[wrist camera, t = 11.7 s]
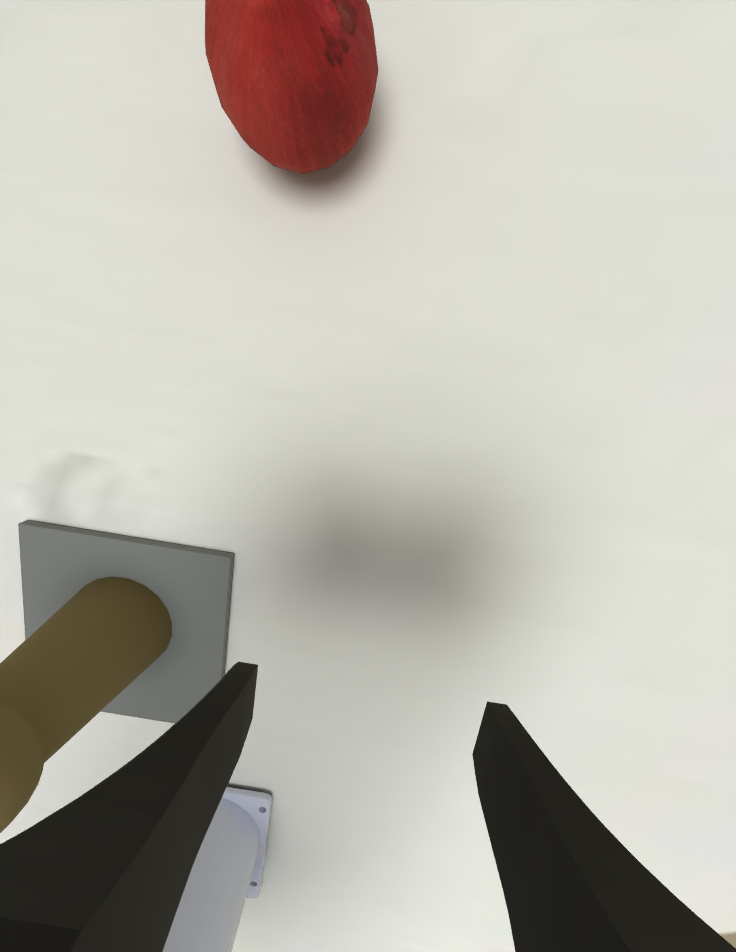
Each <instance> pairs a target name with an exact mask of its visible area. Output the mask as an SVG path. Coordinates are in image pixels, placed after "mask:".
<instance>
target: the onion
mask: <svg viewBox="0 0 736 952" xmlns="http://www.w3.org/2000/svg"><path fill="white" fill-rule="evenodd" d="M205 47H206V56H207V59H208V63H209V66H210V70H211V73H212V77H213V80H214V84H215V87H216V91H217V94H218V97H219V100H220V103H221V106H222V108H223V110H224V111H225V113H226V114H227V116H228V117H229V119H230V120H231V122H232V123H233V125H234V127H235V128H236V130H237V131H238V133H239V134H240V136H241V137H242V138H243V140H244V141H245V142H246V143H247V144H248V146H249V147H250V148H251V149H253V150H254V151H255V152H257V153H258V154H259V155H261V156H262V157H263V158H265V159H266V160H267V161H269V162H270V163H271V164H272V165H274V166H276V167H279V168H283V169H287V170H291V171H295V172H299V173H303V174H304V173H308V172H312V171H315V170H319V169H323V168H327V167H330V166H332V165H333V164H334V163H335V162H337V161H338V160H339V159H340V158H342V157H343V156H344V155H345V154H347V153H348V152H349V151H350V150H352V148H353V147H354V145H355V143H356V142H357V140H358V138H359V137H360V135H361V133H362V132H363V130H364V129H365V127H366V125H367V124H368V120H369V115H370V111H371V106H372V102H373V97H374V92H375V87H376V81H377V75H378V64H377V55H376V46H375V38H374V29H373V23H372V18H371V13H370V8H369V5H368V3H367V1H366V0H205Z"/></svg>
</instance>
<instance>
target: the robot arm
mask: <svg viewBox="0 0 736 952" xmlns="http://www.w3.org/2000/svg"><path fill="white" fill-rule="evenodd" d="M257 669H258V665H256V664H250V663H243V662H238V663H236V664H235V665H234V666H233V667H232V668H231V669H230V670H229V671H228V672H227V673H226V675H225V676H224V677H223V678H222V679H221V680H220V681H219V682H218V683H217V684H216V685H215V686H214V687H213V688H212V689H211V690H210V691H209V692H208V693H207V694H206V695H205V696H204V697H203V698H202V699H201V700H200V701H199V702H198V703H197V704H196V705H195V706H194V707H193V708H192V709H191V710H190V711H189V712H188V713H187V714H186V715H184V716H183V717H182V718H181V719H180V720H179V721H178V722H177V723H175V724H174V725H173V726H172V727H171V728H170V729H169V730H167V731H166V732H165V733H164V734H163V735H162V736H161V737H160V738H158V739H157V740H156V741H155V742H154V743H152V744H151V745H150V746H149V747H147V748H146V749H145V750H144V751H142V752H141V753H140V754H139V755H137V756H136V757H135V758H133V759H132V760H131V761H130V762H128V763H127V764H126V765H124V766H123V767H122V768H120V769H119V770H118V771H116V772H115V773H113V774H112V775H110V776H109V777H108V778H106V779H105V780H103V781H102V782H101V783H99V784H98V785H96V786H95V787H94V788H92V789H91V790H89V791H88V792H86V793H85V794H83V795H82V796H80V797H79V798H77V799H76V800H74V801H72V802H71V803H69V804H68V805H66V806H64V807H63V808H61V809H59V810H58V811H56V812H55V813H53V814H51V815H50V816H48V817H47V818H45V819H43V820H42V821H40V822H38V823H37V824H35V825H34V826H32V827H30V828H29V829H27V830H25V831H23V832H22V833H20V834H18V835H17V836H15V837H13V838H11V839H9V840H7V841H5V842H4V843H2V844H0V952H231V951H232V947H233V943H234V939H235V936H236V932H237V928H238V924H239V921H240V917H241V913H242V909H243V905H244V902H245V898H246V897H248V898H256V897H258V896H259V893H260V889H261V882H262V874H263V866H264V858H265V850H266V843H267V835H268V827H269V819H270V811H271V804H272V797H271V796H270V795H269V794H267V793H263V792H256V791H250V790H244V789H237V788H231V787H227V785H228V783H229V780H230V778H231V776H232V773H233V771H234V769H235V766H236V764H237V762H238V760H239V757H240V755H241V752H242V749H243V746H244V743H245V740H246V737H247V734H248V730H249V727H250V724H251V721H252V717H253V707H254V698H255V688H256V679H257ZM473 760H474V767H475V775H476V781H477V787H478V794H479V798H480V802H481V806H482V810H483V814H484V818H485V822H486V826H487V830H488V833H489V837H490V841H491V845H492V849H493V853H494V857H495V860H496V864H497V868H498V872H499V876H500V880H501V884H502V888H503V891H504V896H505V900H506V905H507V909H508V914H509V918H510V924H511V929H512V935H513V940H514V946H515V951H516V952H736V949H735V948H734V947H733V946H732V945H731V944H730V943H728V942H727V941H726V940H725V939H724V938H723V937H721V936H720V935H719V934H718V933H717V932H716V931H714V930H713V929H712V928H711V927H710V926H709V925H707V924H706V923H705V922H704V921H703V920H702V919H700V918H699V917H698V916H697V915H696V914H695V913H694V912H692V911H691V910H690V909H689V908H688V907H687V906H686V905H685V904H684V903H682V902H681V901H680V900H679V899H678V898H677V897H676V896H675V895H674V894H672V893H671V892H670V891H669V890H668V889H667V888H666V887H665V886H664V885H663V884H662V883H661V882H660V881H659V880H658V879H657V878H656V877H655V876H653V875H652V874H651V873H650V872H649V871H648V870H647V869H646V868H645V867H644V866H643V865H642V864H641V863H640V862H639V861H638V860H637V859H636V858H635V857H634V856H633V855H632V854H631V853H630V852H629V851H628V850H627V849H626V848H625V847H624V846H623V845H622V844H621V843H620V842H619V841H618V840H617V838H616V837H615V836H614V835H613V834H612V833H611V832H610V831H609V830H608V829H607V828H606V827H605V826H604V825H603V824H602V823H601V822H600V820H599V819H598V818H597V817H596V816H595V815H594V814H593V813H592V812H591V810H590V809H589V808H588V807H587V806H586V805H585V803H584V802H583V801H582V800H581V799H580V798H579V796H578V795H577V794H576V793H575V792H574V791H573V789H572V788H571V787H570V786H569V785H568V783H567V782H566V781H565V780H564V779H563V777H562V776H561V775H560V774H559V772H558V771H557V770H556V769H555V767H554V766H553V765H552V764H551V762H550V761H549V760H548V758H547V757H546V756H545V755H544V753H543V752H542V751H541V749H540V748H539V747H538V746H537V744H536V743H535V742H534V740H533V739H532V738H531V736H530V735H529V734H528V732H527V731H526V730H525V728H524V727H523V726H522V724H521V723H520V722H519V720H518V719H517V718H516V716H515V715H514V714H513V712H512V711H511V710H510V708H509V707H508V706H507V705H505V704H499V703H493V702H487V704H486V708H485V711H484V715H483V719H482V722H481V726H480V729H479V733H478V736H477V740H476V744H475V747H474V751H473Z"/></svg>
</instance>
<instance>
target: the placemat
mask: <svg viewBox="0 0 736 952" xmlns="http://www.w3.org/2000/svg"><path fill="white" fill-rule="evenodd" d="M18 526H19V542H20V558H21V574H22V590H23V606H24V622H25V639H27V638H29V637H30V636H31V635H32V634H33V633H34V632H35V631H36V630H37V629H38V628H39V627H41V626H42V625H43V624H44V623H45V622H46V621H47V620H48V619H49V618H50V617H51V616H52V615H54V614H55V613H56V612H57V611H58V610H59V609H60V608H61V607H62V606H63V605H64V604H65V603H67V602H68V601H69V600H70V599H71V598H72V597H73V596H74V595H75V594H76V593H77V592H78V591H80V590H81V589H82V588H83V587H84V586H85V585H87V584H89V583H91V582H93V581H94V580H96V579H99V578H105V577H112V576H114V577H122V578H129V579H131V580H134V581H136V582H138V583H141V584H143V585H145V586H146V587H148V588H149V589H150V590H151V591H153V592H154V593H155V594H156V595H158V597H159V598H160V599H161V601H162V602H163V603H164V605H165V606H166V608H167V609H168V612H169V615H170V618H171V621H172V637H171V640H170V642H169V645H168V647H167V649H166V650H165V651H164V652H163V653H162V654H161V655H160V657H159V658H158V659H157V660H155V661H154V662H153V663H152V664H151V665H150V666H149V667H148V668H147V669H146V670H145V671H143V672H142V673H141V674H140V675H139V676H138V677H137V678H136V679H135V680H134V681H133V682H132V683H130V684H129V685H128V686H127V687H126V688H125V689H124V690H123V691H122V692H121V693H120V694H119V695H117V696H116V697H115V698H114V699H113V700H112V701H111V702H110V703H109V704H108V705H107V706H105V707H104V708H103V709H102V710H101V712H108V713H114V714H120V715H126V716H133V717H139V718H145V719H152V720H158V721H164V722H170V723H177V722H178V721H179V720H180V719H181V718H182V717H183V716H184V715H186V714H187V713H188V712H189V711H190V710H191V709H192V708H193V707H194V706H195V705H196V704H197V703H198V702H199V701H200V700H201V699H202V698H203V697H204V696H205V695H206V694H207V693H208V692H209V691H210V690H211V689H212V688H213V687H214V686H215V685H216V684H217V683H218V682H219V681H220V680H221V679H222V678H223V677H224V672H225V660H226V648H227V636H228V623H229V611H230V599H231V587H232V574H233V562H234V553H229V552H223V551H217V550H210V549H204V548H198V547H192V546H186V545H179V544H173V543H167V542H161V541H155V540H148V539H142V538H136V537H130V536H124V535H117V534H111V533H105V532H99V531H93V530H86V529H80V528H74V527H68V526H62V525H55V524H49V523H43V522H37V521H31V520H27V521H24V522H22V523H19V524H18Z"/></svg>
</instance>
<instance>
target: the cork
mask: <svg viewBox="0 0 736 952" xmlns="http://www.w3.org/2000/svg"><path fill="white" fill-rule="evenodd" d="M171 637H172V621H171V618H170V615H169V612H168V609H167V608H166V606H165V605H164V603H163V602H162V601H161V599H160V598H159V597H158V595H156V594H155V593H154V592H153V591H151V590H150V589H149V588H148V587H146V586H145V585H143V584H141V583H138V582H136V581H134V580H131V579H129V578H122V577H114V576H112V577H105V578H99V579H96V580H94V581H93V582H91V583H89V584H87V585H85V586H84V587H83V588H82V589H81V590H80V591H78V592H77V593H76V594H75V595H74V596H73V597H72V598H71V599H70V600H69V601H68V602H67V603H65V604H64V605H63V606H62V607H61V608H60V609H59V610H58V611H57V612H56V613H55V614H54V615H52V616H51V617H50V618H49V619H48V620H47V621H46V622H45V623H44V624H43V625H42V626H41V627H39V628H38V629H37V630H36V631H35V632H34V633H33V634H32V635H31V636H30V637H29V638H27V639H26V640H25V641H24V642H23V643H22V644H21V645H20V646H19V647H18V648H17V649H16V650H14V651H13V652H12V653H11V654H10V655H9V656H8V657H7V658H6V659H5V660H4V661H3V662H1V663H0V833H1V832H2V831H3V830H4V829H5V828H6V827H7V826H8V825H9V824H10V823H11V822H12V821H13V820H14V818H15V817H16V816H17V815H18V813H19V812H20V811H21V810H22V809H23V807H24V806H25V805H26V804H27V803H28V801H29V799H30V797H31V796H32V794H33V792H34V790H35V789H36V787H37V785H38V783H39V780H40V777H41V774H42V771H43V765H44V763H45V762H46V761H47V760H48V759H49V758H50V757H51V756H52V755H53V754H54V753H56V752H57V751H58V750H59V749H60V748H61V747H62V746H63V745H64V744H65V743H66V742H67V741H69V740H70V739H71V738H72V737H73V736H74V735H75V734H76V733H77V732H78V731H79V730H81V729H82V728H83V727H84V726H85V725H86V724H87V723H88V722H89V721H90V720H91V719H92V718H94V717H95V716H96V715H97V714H98V713H99V712H100V711H101V710H102V709H103V708H104V707H105V706H107V705H108V704H109V703H110V702H111V701H112V700H113V699H114V698H115V697H116V696H117V695H119V694H120V693H121V692H122V691H123V690H124V689H125V688H126V687H127V686H128V685H129V684H130V683H132V682H133V681H134V680H135V679H136V678H137V677H138V676H139V675H140V674H141V673H142V672H143V671H145V670H146V669H147V668H148V667H149V666H150V665H151V664H152V663H153V662H154V661H155V660H157V659H158V658H159V657H160V655H161V654H162V653H163V652H164V651H165V650H166V649H167V647H168V645H169V642H170V640H171Z"/></svg>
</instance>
